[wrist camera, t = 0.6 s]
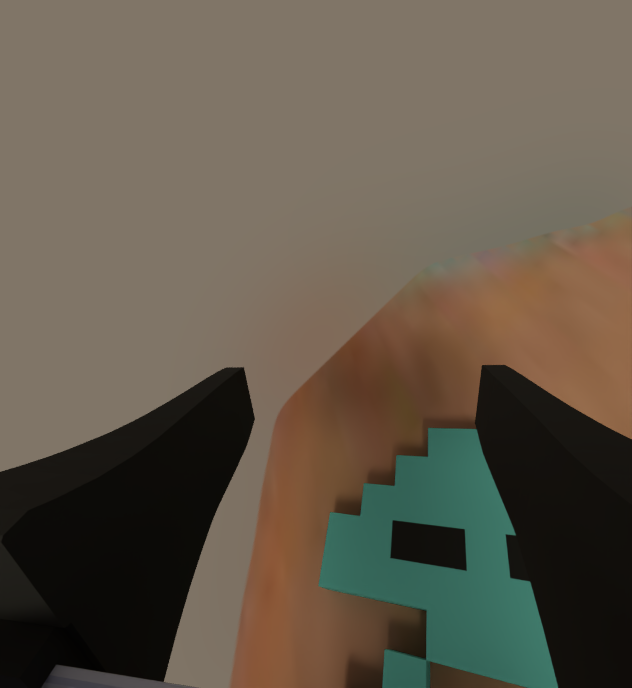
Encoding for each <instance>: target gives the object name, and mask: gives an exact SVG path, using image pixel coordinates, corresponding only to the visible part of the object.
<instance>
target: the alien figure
mask: <svg viewBox="0 0 632 688" xmlns="http://www.w3.org/2000/svg"><path fill="white" fill-rule="evenodd" d="M319 586H320V587H322V588H325V589H328V590H333V591H337V592H342V593H346V594H351V595H356V596H360V597H365V598H370V599H374V600H379V601H383V602H388V603H393V604H397V605H402V606H406V607H411V608H416V609H420V610H425V611H427V627H426V659H425V658H421V657H418V656H414V655H410V654H406V653H403V652H399V651H395V650H392V649H385V652H384V668H383V685H382V688H430V662H434V663H438V664H441V665H445V666H449V667H452V668H456V669H460V670H464V671H467V672H471V673H475V674H478V675H482V676H486V677H490V678H493V679H497V680H501V681H504V682H508V683H512V684H516V685H519V686H523V687H527V688H558V685H557V681H556V677H555V673H554V669H553V665H552V661H551V657H550V654H549V650H548V646H547V642H546V638H545V634H544V630H543V626H542V623H541V619H540V615H539V612H538V608H537V605H536V601H535V597H534V594H533V590H532V586H531V583H530V580H529V576H528V573H527V569H526V566H525V563H524V559H523V556H522V553H521V549H520V546H519V543H518V540H517V537H516V534H515V532H514V529H513V526H512V524H511V521H510V519H509V516H508V514H507V511H506V509H505V507H504V504H503V502H502V499H501V497H500V494H499V492H498V490H497V487H496V485H495V482H494V480H493V477H492V475H491V472H490V470H489V468H488V465H487V463H486V460H485V457H484V455H483V452H482V448H481V444H480V441H479V437H478V433H477V429H450V428H428V457H422V456H403V455H397V456H396V473H395V486H390V485H379V484H367V483H364V487H363V496H362V505H361V514H360V516H356V515H348V514H340V513H333V512H330V517H329V523H328V529H327V536H326V542H325V548H324V555H323V561H322V567H321V573H320V580H319Z"/></svg>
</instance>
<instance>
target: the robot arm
mask: <svg viewBox="0 0 632 688" xmlns="http://www.w3.org/2000/svg"><path fill="white" fill-rule="evenodd" d="M254 420H255V418H254V413H253V408H252V403H251V399H250V394H249V390H248V385H247V380H246V375H245V371H244V368H242V367H241V368H224V369H222V370H221V371H218V372H217V373H215V374H213V375H211V376H210V377H208V378H206V379H205V380H203V381H202V382H200V383H198V384H197V385H195V386H194V387H192V388H190V389H189V390H187V391H185V392H184V393H182V394H180V395H179V396H177V397H176V398H174V399H172V400H171V401H169V402H167V403H165V404H164V405H162V406H160V407H158V408H157V409H155V410H153V411H151V412H150V413H148V414H146V415H144V416H142V417H140V418H139V419H136V420H135V421H133V422H131V423H129V424H127V425H124V426H123V427H120V428H118V429H116V430H114V431H112V432H110V433H107V434H105V435H103V436H100V437H98V438H95V439H93V440H90V441H88V442H86V443H83V444H81V445H78V446H76V447H73V448H71V449H68V450H66V451H63V452H60V453H57V454H54V455H52V456H49V457H46V458H43V459H40V460H37V461H34V462H31V463H28V464H25V465H22V466H19V467H16V468H12V469H9V470H5V471H2V472H0V688H196V687H190V686H184V685H178V684H172V683H166V682H164V678H165V675H166V671H167V667H168V663H169V659H170V655H171V652H172V648H173V644H174V640H175V636H176V633H177V629H178V626H179V623H180V619H181V616H182V612H183V608H184V605H185V602H186V599H187V595H188V592H189V588H190V585H191V582H192V579H193V576H194V573H195V569H196V567H197V564H198V560H199V557H200V554H201V551H202V548H203V545H204V543H205V540H206V537H207V534H208V531H209V528H210V525H211V523H212V520H213V518H214V515H215V513H216V511H217V508H218V506H219V504H220V502H221V500H222V498H223V495H224V493H225V491H226V489H227V487H228V485H229V483H230V481H231V479H232V476H233V474H234V472H235V470H236V468H237V466H238V463H239V461H240V459H241V457H242V455H243V453H244V450H245V448H246V446H247V443H248V440H249V437H250V434H251V430H252V426H253V423H254ZM475 424H476V428H477V433H478V437H479V441H480V444H481V448H482V452H483V455H484V457H485V460H486V463H487V465H488V468H489V470H490V472H491V475H492V477H493V480H494V482H495V485H496V487H497V490H498V492H499V494H500V497H501V499H502V502H503V504H504V507H505V509H506V511H507V514H508V516H509V519H510V521H511V524H512V526H513V529H514V532H515V534H516V537H517V540H518V543H519V546H520V549H521V553H522V556H523V559H524V563H525V566H526V569H527V573H528V576H529V580H530V583H531V586H532V590H533V594H534V597H535V601H536V605H537V608H538V612H539V615H540V619H541V623H542V626H543V630H544V634H545V638H546V642H547V646H548V650H549V654H550V657H551V661H552V665H553V669H554V673H555V677H556V681H557V685H558V688H632V439H630V438H628V437H625V436H623V435H621V434H619V433H617V432H615V431H614V430H612V429H610V428H608V427H606V426H604V425H602V424H600V423H599V422H597V421H595V420H593V419H592V418H590V417H588V416H586V415H585V414H583V413H581V412H579V411H578V410H576V409H574V408H573V407H571V406H569V405H568V404H566V403H564V402H563V401H561V400H560V399H558V398H556V397H555V396H553V395H552V394H550V393H548V392H547V391H545V390H544V389H542V388H541V387H539V386H538V385H536V384H535V383H533V382H532V381H530V380H529V379H527V378H526V377H524V376H522V375H521V374H519V373H518V372H516V371H515V370H513V369H511V368H510V367H508V366H506V365H482V370H481V378H480V386H479V395H478V403H477V411H476V420H475Z"/></svg>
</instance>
